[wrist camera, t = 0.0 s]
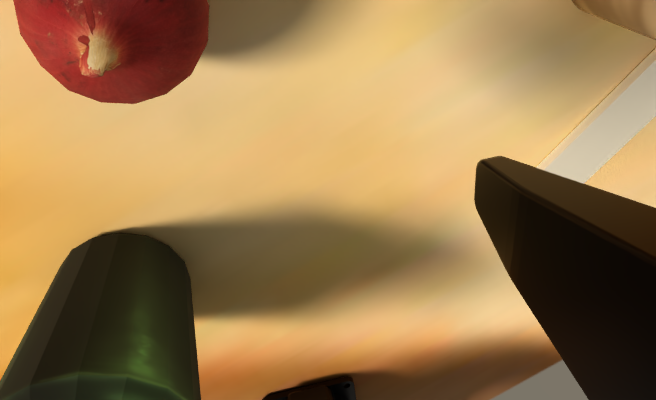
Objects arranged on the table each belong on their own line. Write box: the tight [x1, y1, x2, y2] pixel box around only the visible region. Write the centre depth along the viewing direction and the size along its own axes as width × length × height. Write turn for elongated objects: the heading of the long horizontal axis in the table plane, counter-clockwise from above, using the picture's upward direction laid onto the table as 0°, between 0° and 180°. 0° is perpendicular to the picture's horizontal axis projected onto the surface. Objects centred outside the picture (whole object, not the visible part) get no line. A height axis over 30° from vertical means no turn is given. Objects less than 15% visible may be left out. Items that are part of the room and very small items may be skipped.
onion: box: [13, 0, 209, 104], centre depth 16 cm, size 6×6×8 cm
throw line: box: [536, 48, 656, 184], centre depth 27 cm, size 16×3×1 cm, turn 142°
